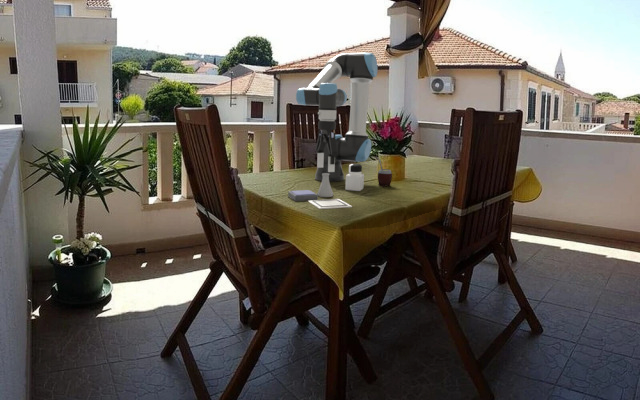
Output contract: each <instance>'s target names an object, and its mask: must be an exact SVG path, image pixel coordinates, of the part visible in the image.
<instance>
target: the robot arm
mask: <svg viewBox="0 0 640 400" xmlns="http://www.w3.org/2000/svg"><path fill="white" fill-rule="evenodd" d="M377 75H378V60H377V57H376V55H375V54H374V53H373V52H365V51H364V52H342V53H340V54H337V55H336V56H333V57H332V58H330V59H329V60H328V61H327V62H326V63H325V64H324V66H323V69H322V70H321V71H320V73H319V74H318V75H317V76H316V77H315V78H314V79H313V80H312V81H311V82H310V83H309V84H308V86H306V87H301V88H298V89H297V90H296V93H295V98H296V102H297V104H299V105H302V106H318V112H317V115H318V122H317V125H318V128H317V129H318V137H317V141H316V146H315V151H316V153H317V155H316V156H317V158H316V159H317V160H316V163H317V166H316V172H315V175H314V176H315V178H314V179H315V180H316V181H319V182H322V178H323V175H322V174H323V173H328V174H329V183H330V182H334V183H335V182H342V181H345V175H344V171H343V167H342V161H344V162H345V161H346V162H356V163H359V162H360V163H363V162H366V161H367V160H368V158H369V157H370V155H371V151H372V140H371V139H370V138H369V134H368V133H367V119H368V107H369V94H370V85H371V83H373V82H374V78H376V77H377ZM342 77H346V78H347V77H349V81H350V82H351V83H352V84H351V86H352V87H351V99H350V112H349V123H348V131H347V132H346V133H345V135H344V136H345V137H343V135H342V134H336V132H333V131H335V130H336V127H337V122H336V120H337V107H341V106H343V105H345V104H346V102H347V99H348V97H347V93H346V92H345V91H344V89H341V88H338V85H337V83H334V81H336V80H338V79H340V78H342Z"/></svg>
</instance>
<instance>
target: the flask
mask: <svg viewBox="0 0 640 400" xmlns="http://www.w3.org/2000/svg"><path fill="white" fill-rule="evenodd" d="M322 175H323V178H322V181H321V183H320V186H319V189H318V191H317V193H316V194H317V195H318V197H320V198H332V197H334V192H333V190H332V189H333V188H332V186H331V184H330V182H329V174H328V173H323V174H322Z"/></svg>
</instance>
